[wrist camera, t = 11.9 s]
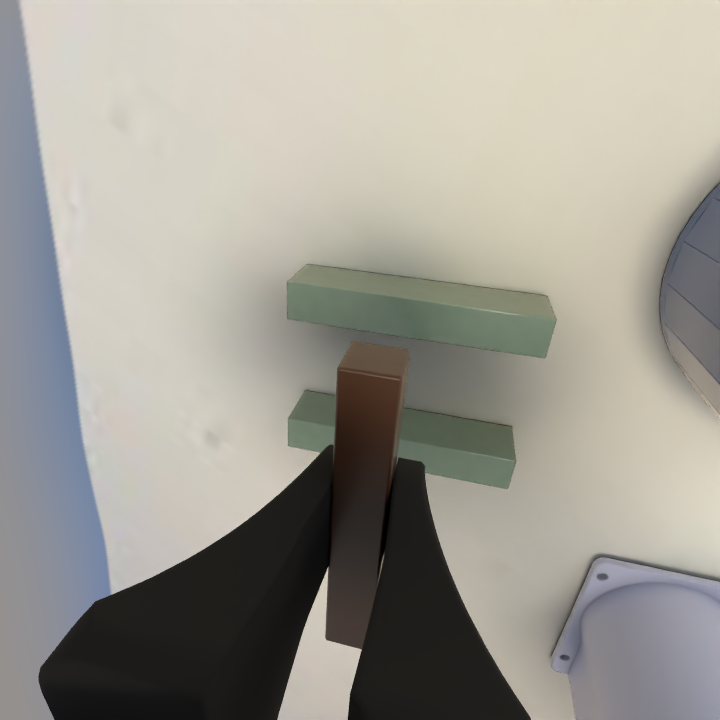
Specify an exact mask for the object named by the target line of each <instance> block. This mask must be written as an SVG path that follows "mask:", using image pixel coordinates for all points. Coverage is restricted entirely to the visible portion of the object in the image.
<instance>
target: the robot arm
mask: <svg viewBox="0 0 720 720" xmlns="http://www.w3.org/2000/svg"><path fill="white" fill-rule="evenodd" d="M333 454H334V445H331V444H330V445H329V446H327V447H326V448H325V449H324V450H323V451H322V452H321V453H320V454H319V456H318V457H317V458H316V459H315V460H314V461H313V462H312V463H311V464H310V465H309V466H308V467H307V468H306V469H305V470H304V471H303V472H302V473H301V474H300V475H299V476H298V477H297V478H296V479H295V480H294V481H293V482H292V483H291V484H290V485H289V486H287V487H286V488H285V489H284V490H283V491H282V492H281V493H280V494H279V495H278V496H276V497H275V498H274V499H273V500H272V501H270V502H269V503H268V504H267V505H266V506H264V507H263V508H262V509H261V510H260V511H258V512H257V513H256V514H255V515H253V516H252V517H251V518H249V519H248V520H247V521H245V522H244V523H243V524H241V525H240V526H239V527H237V528H236V529H234V530H233V531H231V532H230V533H229V534H227V535H226V536H224V537H222V538H221V539H219V540H218V541H216V542H215V543H213V544H211V545H210V546H208V547H207V548H205V549H204V550H202V551H200V552H199V553H197V554H195V555H193V556H192V557H190V558H188V559H186V560H184V561H182V562H181V563H179V564H177V565H175V566H173V567H171V568H169V569H167V570H165V571H163V572H162V573H160V574H158V575H156V576H154V577H152V578H149V579H147V580H145V581H143V582H141V583H138V584H136V585H134V586H131V587H129V588H127V589H124V590H122V591H120V592H117V593H115V594H113V595H110V596H108V597H106V598H103V599H100V600H98V601H96V602H94V604H93V605H92V606H91V607H90V608H89V609H88V610H87V612H85V613H84V614H83V616H82V617H81V618H80V619H79V620H78V621H77V623H76V624H75V625H74V626H73V627H72V628H71V630H70V631H69V632H68V633H67V635H66V636H65V637H64V639H63V640H62V641H61V642H60V644H59V645H58V646H57V647H56V649H55V650H54V651H53V652H52V654H51V655H50V656H49V658H48V659H47V660H46V661H45V663H44V664H43V665H42V667H41V668H40V672H39V684H40V687H41V691H42V694H43V696H44V698H45V700H46V702H47V704H48V706H49V709H50V711H51V713H52V715H53V717H54V719H55V720H277V718H278V714H279V711H280V707H281V704H282V700H283V697H284V693H285V690H286V686H287V683H288V679H289V676H290V673H291V669H292V666H293V662H294V659H295V656H296V652H297V649H298V646H299V642H300V639H301V636H302V632H303V629H304V627H305V624H306V621H307V618H308V615H309V613H310V610H311V608H312V605H313V603H314V600H315V598H316V595H317V593H318V590H319V588H320V585H321V583H322V580H323V578H324V575H325V573H326V570H327V568H328V566H329V544H330V521H331V499H332V476H333ZM600 573H603V574H600ZM550 663H551V668H552V669H553V670H555V671H557V672H560V673H564V674H568V675H569V681H570V687H571V694H572V700H573V706H574V712H575V718H576V720H720V582H718V581H714V580H709V579H704V578H699V577H695V576H690V575H685V574H681V573H676V572H671V571H666V570H662V569H657V568H652V567H648V566H643V565H638V564H633V563H629V562H624V561H619V560H615V559H610V558H603V557H602V558H598V559H596V560H595V561H594V562H593V564H592V566H591V569H590V571H589V573H588V575H587V578H586V580H585V582H584V584H583V587H582V589H581V591H580V594H579V596H578V598H577V600H576V603H575V605H574V607H573V609H572V612H571V614H570V616H569V618H568V621H567V623H566V625H565V627H564V630H563V632H562V634H561V637H560V639H559V641H558V643H557V646H556V648H555V650H554V652H553V655H552V657H551V659H550ZM348 720H531V718H530V716H529V715H528V713H527V712H526V710H525V709H524V707H523V706H522V704H521V703H520V701H519V700H518V698H517V697H516V695H515V694H514V692H513V691H512V689H511V687H510V686H509V684H508V683H507V681H506V680H505V678H504V676H503V675H502V673H501V671H500V670H499V668H498V666H497V665H496V663H495V661H494V660H493V658H492V656H491V655H490V653H489V651H488V649H487V648H486V646H485V644H484V642H483V640H482V638H481V636H480V634H479V633H478V631H477V629H476V627H475V625H474V623H473V621H472V619H471V617H470V615H469V614H468V612H467V610H466V607H465V605H464V603H463V601H462V599H461V597H460V594H459V592H458V590H457V588H456V585H455V583H454V580H453V578H452V576H451V573H450V571H449V568H448V565H447V563H446V560H445V557H444V554H443V551H442V548H441V545H440V542H439V539H438V536H437V533H436V529H435V526H434V522H433V518H432V514H431V510H430V505H429V501H428V495H427V489H426V481H425V465H424V464H423V463H422V462H421V461H416V460H410V459H405V458H400V457H399V458H398V462H397V465H396V470H395V473H394V478H393V486H392V494H391V502H390V510H389V518H388V527H387V535H386V543H385V551H384V560H383V564H382V569H381V573H380V577H379V582H378V586H377V590H376V594H375V598H374V603H373V607H372V611H371V615H370V619H369V623H368V627H367V631H366V635H365V639H364V643H363V647H362V651H361V655H360V659H359V663H358V666H357V670H356V674H355V678H354V682H353V685H352V689H351V693H350V702H349V712H348Z"/></svg>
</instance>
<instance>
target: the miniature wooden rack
mask: <svg viewBox="0 0 720 720" xmlns="http://www.w3.org/2000/svg"><path fill="white" fill-rule="evenodd" d="M287 319H289V320H296V321H302V322H309V323H315V324H322V325H328V326H335V327H342V328H348V329H355V330H361V331H368V332H374V333H381V334H387V335H394V336H401V337H407V338H414V339H420V340H427V341H433V342H440V343H447V344H453V345H460V346H466V347H473V348H479V349H486V350H492V351H499V352H506V353H512V354H519V355H525V356H532V357H538V358H546V355H547V352H548V348H549V345H550V341H551V338H552V334H553V331H554V327H555V324H556V317H555V314H554V312H553V309H552V306H551V304H550V301H549V299H548V296H544V295H537V294H529V293H522V292H514V291H506V290H499V289H491V288H484V287H476V286H469V285H461V284H453V283H446V282H438V281H431V280H423V279H416V278H408V277H401V276H393V275H385V274H378V273H370V272H363V271H355V270H348V269H340V268H332V267H325V266H317V265H310V264H307V265H306V266H304V267H303V268H302V269H301V270H300V271H299V272H298V273H296V274H295V275H294V276H293V277H292V278H291V279H290V280H289V281H287ZM335 409H336V396H333V395H328V394H322V393H316V392H311V391H305V392H304V393H303V395H302V396H301V398H300V400H299V401H298V403H297V405H296V406H295V408H294V409H293V411H292V413H291V414H290V416H289V417H288V446H290V447H295V448H300V449H305V450H311V451H316V452H322V451H323V450H324V449H325V448H326V447H327V446H329V445H330V444H331V445H334V431H335ZM399 457H400V458H405V459H410V460H416V461H421V462H422V463H423V464H424V465H425V473H428V474H433V475H438V476H443V477H448V478H453V479H458V480H463V481H468V482H473V483H478V484H483V485H489V486H494V487H499V488H504V489H508V488H509V485H510V481H511V478H512V474H513V471H514V467H515V464H516V455H515V446H514V438H513V429H512V427H509V426H504V425H498V424H492V423H487V422H481V421H475V420H470V419H464V418H458V417H453V416H447V415H441V414H435V413H430V412H424V411H418V410H413V409H407V408H403V416H402V424H401V432H400V440H399V448H398V456H397V462H398V458H399ZM396 465H397V464H396Z"/></svg>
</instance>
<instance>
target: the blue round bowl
mask: <svg viewBox="0 0 720 720" xmlns="http://www.w3.org/2000/svg"><path fill="white" fill-rule="evenodd" d="M660 319H661V325H662V331H663V335H664V338H665V341H666V344H667V346H668V349H669V351H670V353H671V355H672V357H673V358H674V360H675V362H676V364H677V365H678V366H679V367H680V369H681V370H682V371H683V373H684V374H685V376H686V377H687V379H688V380H689V382H690V383H691V385H692V386H693V387H694V388H695V390H696V391H697V392H698V393H699V395H700V396H701V397H702V398H703V400H704V401H705V402H706V403H707V405H708V406H709V407H710V408H711V410H712V411H713V412H714V413H715V415H716V416H717V417H718V418H719V420H720V184H719V185H718V186H717V187H716V188H715V189H714V190H713V191H712V192H711V193H710V194H709V195H708V196H707V198H706V199H705V200H704V202H703V203H702V204H701V205H700V207H699V208H698V209H697V211H696V212H695V213H694V214H693V216H692V217H691V219H690V220H689V222H688V223H687V225H686V227H685V228H684V230H683V232H682V233H681V235H680V237H679V238H678V240H677V243H676V245H675V247H674V249H673V251H672V254H671V256H670V258H669V261H668V264H667V267H666V271H665V274H664V277H663V282H662V289H661V295H660Z"/></svg>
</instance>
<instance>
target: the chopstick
mask: <svg viewBox="0 0 720 720" xmlns="http://www.w3.org/2000/svg"><path fill="white" fill-rule="evenodd" d="M409 360H410V351H409V350H407V349H400V348H394V347H387V346H381V345H374V344H368V343H361V342H352V343H351V345H350V347H349V349H348V350H347V352H346V354H345V356H344V358H343V359H342V361H341V363H340V365H339V367H338V368H337V386H336V409H335V431H334V454H333V476H332V499H331V521H330V544H329V566H328V589H327V612H326V634H325V638H326V640H328V641H332V642H336V643H340V644H344V645H347V646H351V647H355V648H359V649H362V647H363V643H364V639H365V635H366V631H367V627H368V623H369V619H370V615H371V611H372V607H373V603H374V598H375V594H376V590H377V586H378V582H379V577H380V573H381V569H382V564H383V560H384V551H385V543H386V535H387V527H388V518H389V510H390V502H391V494H392V486H393V478H394V473H395V470H396V464H397V456H398V448H399V440H400V432H401V424H402V416H403V408H404V400H405V392H406V384H407V376H408V368H409Z"/></svg>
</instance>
